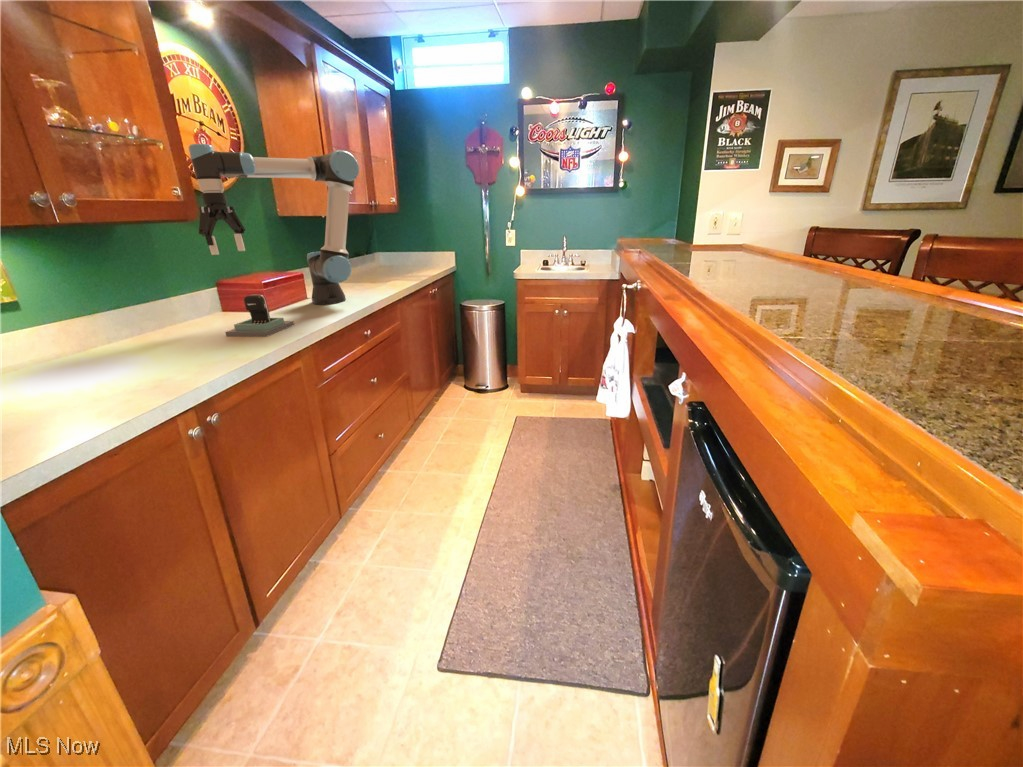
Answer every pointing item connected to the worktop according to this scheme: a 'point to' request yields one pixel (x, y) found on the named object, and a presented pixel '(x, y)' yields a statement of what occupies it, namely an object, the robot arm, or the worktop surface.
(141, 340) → the worktop surface
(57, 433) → the worktop surface
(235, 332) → the dock
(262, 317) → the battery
